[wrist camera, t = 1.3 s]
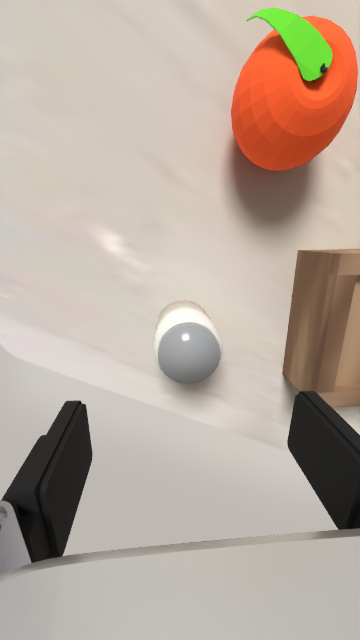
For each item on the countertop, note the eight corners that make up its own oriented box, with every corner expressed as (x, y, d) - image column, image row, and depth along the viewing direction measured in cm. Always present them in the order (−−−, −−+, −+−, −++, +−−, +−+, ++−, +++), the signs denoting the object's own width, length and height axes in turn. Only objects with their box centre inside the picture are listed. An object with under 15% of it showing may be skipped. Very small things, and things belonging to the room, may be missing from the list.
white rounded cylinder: (211, 300, 22) (227, 321, 17) (208, 350, 24) (222, 385, 18) (155, 300, 22) (152, 322, 16) (156, 351, 24) (154, 387, 18)
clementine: (191, 115, 18) (207, 41, 11) (264, 28, 17) (331, -114, 10) (260, 201, 20) (309, 182, 13) (330, 129, 19) (423, 68, 12)
